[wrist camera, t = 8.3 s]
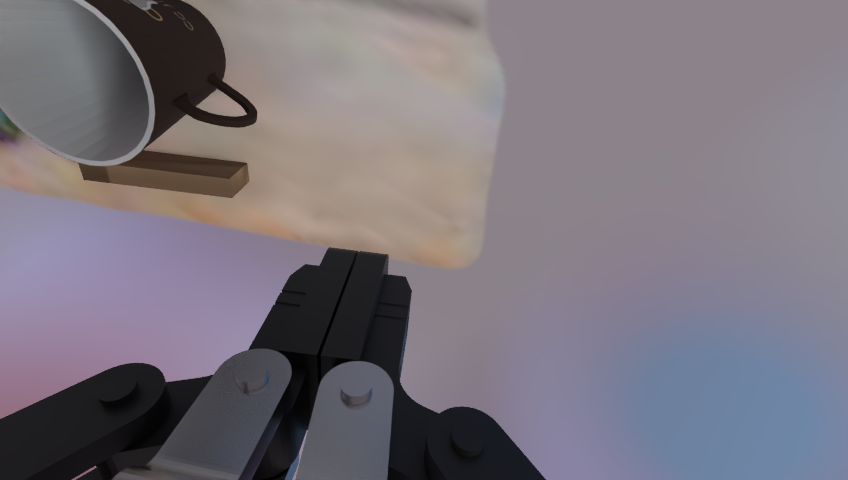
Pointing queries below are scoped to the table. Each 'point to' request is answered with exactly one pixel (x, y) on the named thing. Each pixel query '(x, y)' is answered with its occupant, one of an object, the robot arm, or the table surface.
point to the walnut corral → (174, 174)
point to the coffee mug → (108, 74)
